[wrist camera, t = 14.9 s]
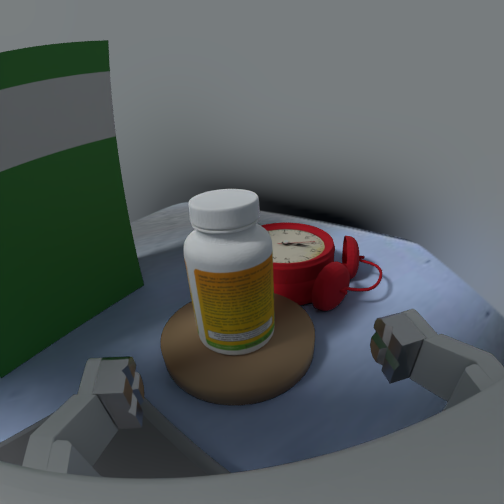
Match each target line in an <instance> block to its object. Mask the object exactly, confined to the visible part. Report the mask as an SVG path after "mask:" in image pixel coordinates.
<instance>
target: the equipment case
mask: <svg viewBox="0 0 504 504" xmlns="http://www.w3.org/2000/svg"><path fill="white" fill-rule="evenodd" d="M140 406H141V408H142V410H143V420H142V428H125V429H118V431H117V433H116V434H115V435H114V437H113V438H112V440H111V441H110V442H109V444H108V445H107V447H106V448H105V449H104V451H103V452H102V454H101V455H100V457H99V458H98V459H97V461H96V462H95V464H94V465H93V466H92V467H93V468H94V469H95V470H96V471H97V472H98V473H99V474H100V475H101V476H102V477H109V478H137V479H155V478H183V477H198V476H210V475H220V474H228V473H230V472H229V471H228V470H226V469H225V468H224V467H223V466H221V465H220V464H219V463H217V462H216V461H215V460H214V459H212V458H211V457H210V456H209V455H207V454H206V453H205V452H204V451H203V450H201V449H200V448H199V447H198V446H197V445H195V444H194V443H193V442H192V441H191V440H190V439H188V438H187V437H186V436H185V435H184V434H183V433H182V432H181V431H179V430H178V429H177V428H176V427H175V426H174V425H173V424H172V423H171V422H170V421H169V420H167V419H166V418H165V417H164V416H163V415H162V414H161V413H160V412H159V411H158V410H157V409H156V408H155V407H154V406H153V405H152V404H151V403H150V402H149V401H148V400H147V399H146V398H145V397H144V402H143V403H142V404H141V405H140ZM52 414H53V413H52ZM52 414H51V415H52ZM51 415H49V416H47V417H45V418H44V419H42V420H40V421H38V422H37V423H35V424H33V425H31V426H30V427H28V428H26V429H24V430H23V431H21V432H19V433H17V434H15V435H14V436H12V437H10V438H8V439H6V440H5V441H3V442H1V443H0V461H2V462H7V463H11V464H15V465H20V466H22V464H23V460H24V456H25V453H26V449H27V445H28V442H29V438H30V435H31V434H32V433H33V432H34V431H35V430H36V429H38V428H39V427H40V426H41V425H42V424H43V423H44V422H45V421H46V420H47V419H48V418H49V417H50V416H51Z"/></svg>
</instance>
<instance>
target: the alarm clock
mask: <svg viewBox="0 0 504 504" xmlns="http://www.w3.org/2000/svg"><path fill="white" fill-rule="evenodd" d="M262 227H263V228H265V229H266V230H267V232H268V233H269V234H270V236H271V239H272V248H273V283H274V293H276V294H279V295H281V296H284V297H286V298H288V299H290V300H292V301H294V302H295V303H297V304H298V305H304V304H308V303H313V306H314V307H315V308H317V309H319V310H322V311H328V310H332V309H333V308H335V307H336V306H337V305H339V304H340V302H341V301H342V300H343V299H344V297H345V295H346V294H347V290H349V291H370V290H372V289H374V288H375V287H377V286H378V285H379V283H380V281H381V279H382V270H381V268H380V267H379V266H378V265H376V264H374V263H372V262H369V261H366V260H362V259H364V256H359V247H358V243H357V241H356V240H355V239H354V238H353V237H350V236H345V237H344V242H343V254H342V263H340V262H337V261H336V262H334V252H335V246H334V242H333V239H332V237H331V236H330V235H329V234H328V233H327V232H325V231H323V230H321V229H319V228H317V227H314V226H310V225H306V224H299V223H273V224H266V225H262ZM359 261H360V262H363V263H367V264H370V265H372V266H375V267H376V268H377V269H378V270H379V273H380V276H379V279H378V281H377V283H376V284H374V285H373V286H372V287H369V288H350V287H349V282H350V279H352V278H354V277H355V275H356V273H357V270H358V266H359Z"/></svg>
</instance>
